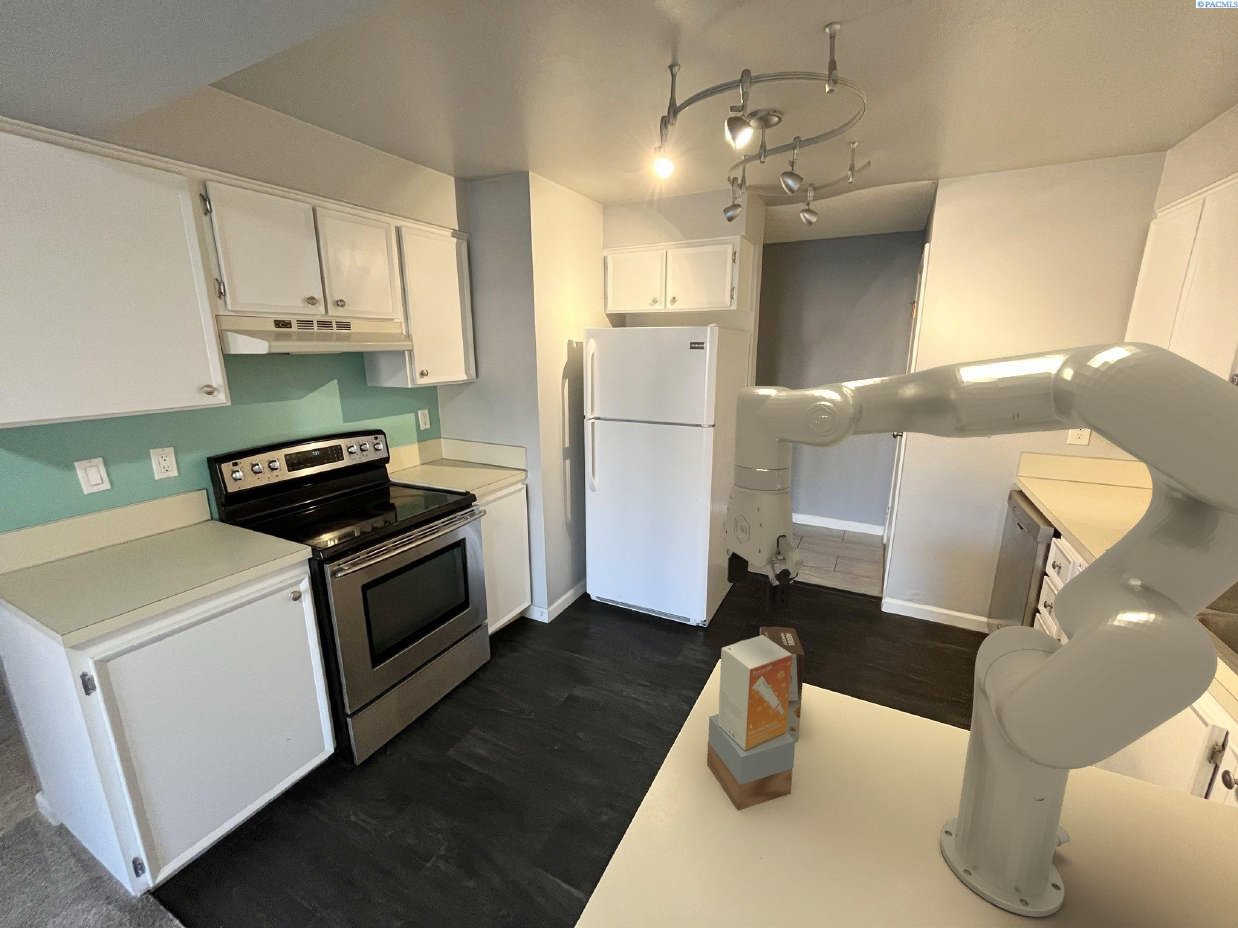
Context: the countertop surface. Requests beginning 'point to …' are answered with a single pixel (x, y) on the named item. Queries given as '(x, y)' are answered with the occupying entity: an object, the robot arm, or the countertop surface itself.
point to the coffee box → (791, 644)
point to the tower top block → (752, 754)
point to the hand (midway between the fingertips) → (756, 594)
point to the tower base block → (748, 784)
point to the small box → (754, 691)
